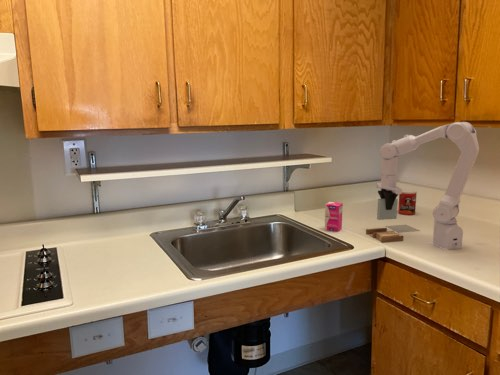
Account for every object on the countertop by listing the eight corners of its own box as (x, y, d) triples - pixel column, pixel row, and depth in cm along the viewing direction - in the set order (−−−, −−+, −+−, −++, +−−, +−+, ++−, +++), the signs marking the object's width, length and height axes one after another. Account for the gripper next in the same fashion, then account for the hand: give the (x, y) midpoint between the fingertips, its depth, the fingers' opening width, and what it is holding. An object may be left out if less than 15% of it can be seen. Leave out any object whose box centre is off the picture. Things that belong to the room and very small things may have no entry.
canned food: (398, 214, 192) (399, 192, 190) (397, 211, 199) (399, 189, 198) (415, 215, 190) (417, 192, 188) (414, 212, 197) (415, 189, 195)
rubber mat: (420, 232, 163) (420, 230, 163) (398, 234, 160) (398, 232, 160) (405, 225, 172) (405, 224, 172) (384, 227, 170) (384, 226, 170)
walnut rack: (403, 242, 150) (403, 236, 149) (382, 244, 148) (382, 237, 148) (385, 233, 161) (385, 227, 161) (365, 235, 159) (366, 229, 159)
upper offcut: (399, 237, 151) (399, 234, 151) (382, 238, 149) (382, 236, 149) (393, 234, 155) (393, 231, 154) (376, 235, 153) (376, 233, 153)
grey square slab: (396, 218, 159) (397, 198, 157) (379, 219, 157) (380, 199, 156) (394, 217, 160) (395, 197, 159) (376, 218, 158) (378, 198, 157)
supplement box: (324, 231, 165) (324, 204, 163) (328, 228, 170) (329, 201, 168) (338, 233, 162) (339, 205, 160) (342, 229, 167) (343, 202, 165)
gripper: (369, 172, 162) (368, 205, 164) (390, 177, 148) (388, 213, 150) (385, 171, 163) (383, 204, 166) (407, 176, 149) (405, 212, 152)
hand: (387, 209), depth 158 cm, fingers closed on grey square slab, 2 cm apart
